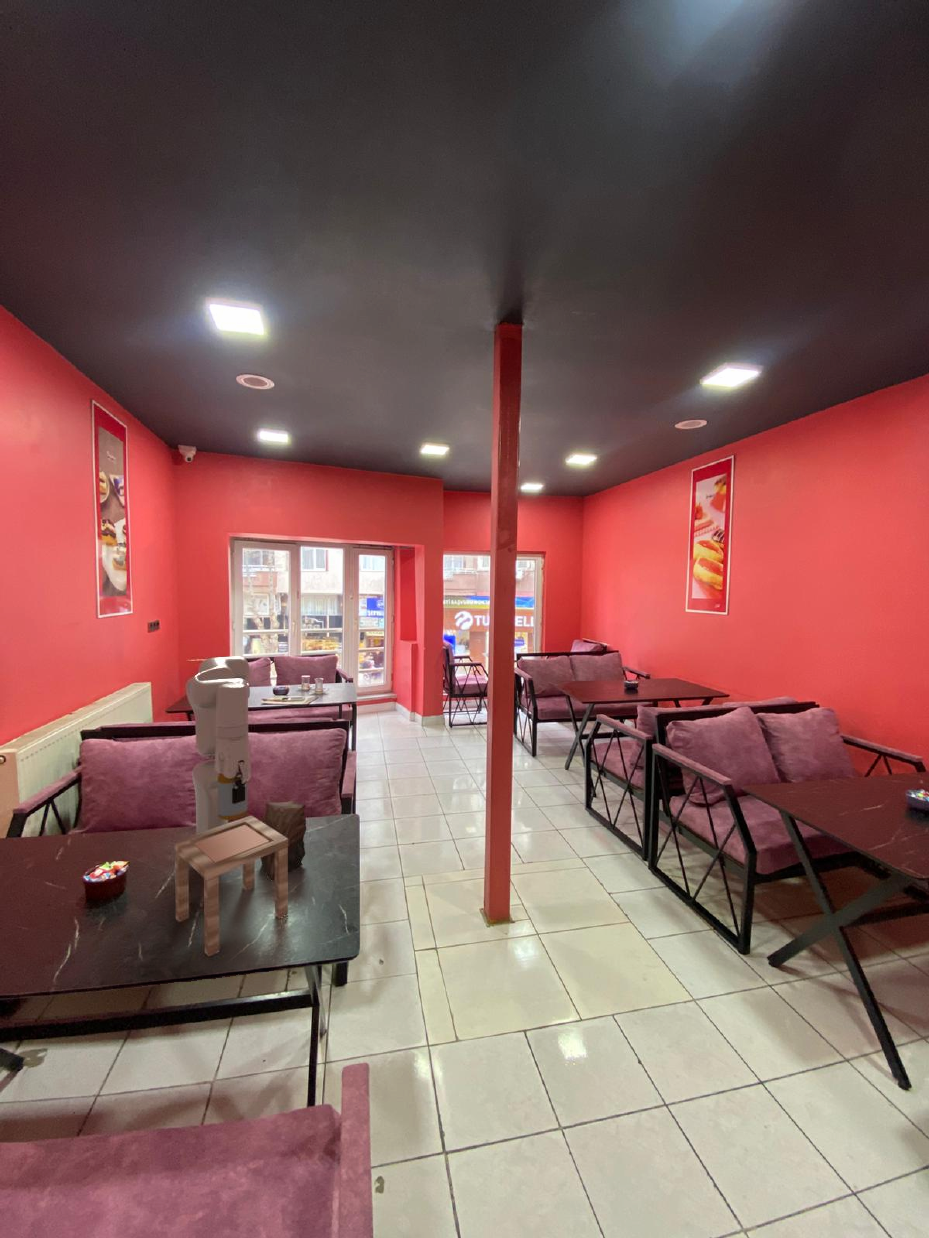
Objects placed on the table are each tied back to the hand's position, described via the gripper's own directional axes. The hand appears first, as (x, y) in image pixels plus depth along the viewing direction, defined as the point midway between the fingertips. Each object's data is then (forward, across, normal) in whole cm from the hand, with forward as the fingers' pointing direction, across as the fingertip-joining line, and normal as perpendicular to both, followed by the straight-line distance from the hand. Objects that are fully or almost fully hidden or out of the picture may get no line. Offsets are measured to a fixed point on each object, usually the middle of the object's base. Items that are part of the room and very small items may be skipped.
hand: (232, 797), depth 126 cm
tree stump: (+34, -14, +20) cm, 42 cm away
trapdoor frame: (+33, -2, 0) cm, 33 cm away
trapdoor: (+14, -2, 0) cm, 14 cm away
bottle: (+5, 0, 0) cm, 5 cm away
